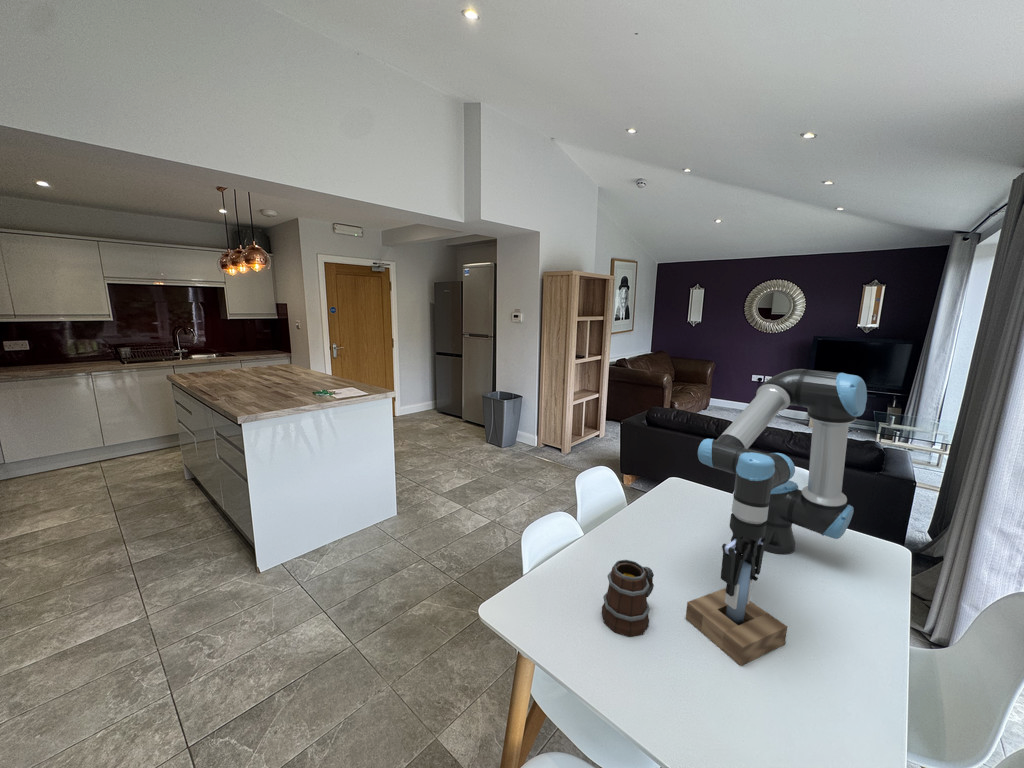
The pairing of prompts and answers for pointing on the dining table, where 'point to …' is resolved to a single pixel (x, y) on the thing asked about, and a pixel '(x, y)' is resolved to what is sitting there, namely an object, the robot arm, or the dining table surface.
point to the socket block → (736, 627)
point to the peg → (740, 596)
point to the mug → (628, 598)
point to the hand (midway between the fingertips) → (736, 602)
